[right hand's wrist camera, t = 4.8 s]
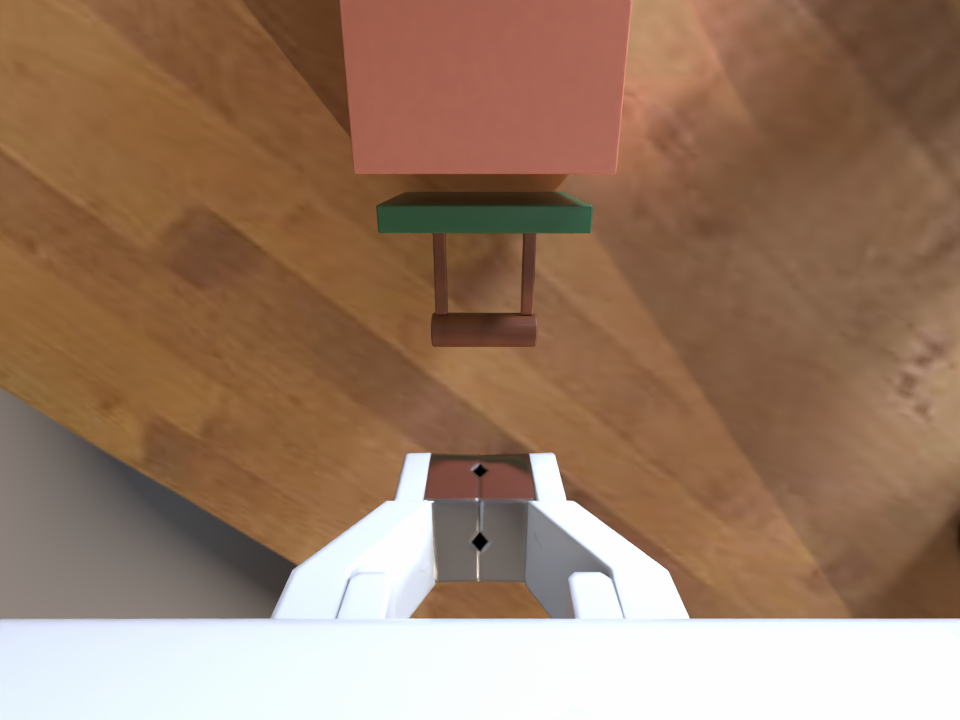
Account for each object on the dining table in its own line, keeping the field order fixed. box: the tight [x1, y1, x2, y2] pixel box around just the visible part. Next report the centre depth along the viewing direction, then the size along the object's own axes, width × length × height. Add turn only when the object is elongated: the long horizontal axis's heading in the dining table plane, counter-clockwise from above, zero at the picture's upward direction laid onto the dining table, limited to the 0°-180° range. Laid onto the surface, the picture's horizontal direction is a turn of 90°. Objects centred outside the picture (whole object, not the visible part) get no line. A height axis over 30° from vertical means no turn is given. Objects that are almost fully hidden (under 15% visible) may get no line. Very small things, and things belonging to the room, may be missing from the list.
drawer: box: [376, 192, 593, 347], centre depth 24 cm, size 24×9×8 cm, turn 0°
